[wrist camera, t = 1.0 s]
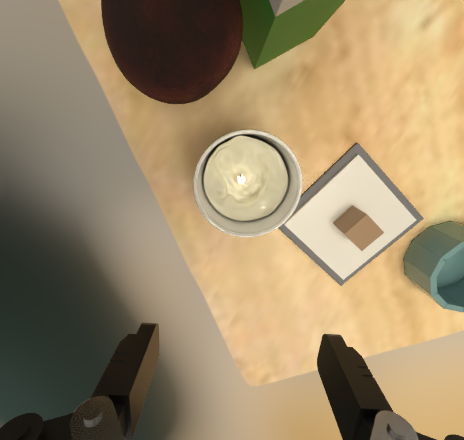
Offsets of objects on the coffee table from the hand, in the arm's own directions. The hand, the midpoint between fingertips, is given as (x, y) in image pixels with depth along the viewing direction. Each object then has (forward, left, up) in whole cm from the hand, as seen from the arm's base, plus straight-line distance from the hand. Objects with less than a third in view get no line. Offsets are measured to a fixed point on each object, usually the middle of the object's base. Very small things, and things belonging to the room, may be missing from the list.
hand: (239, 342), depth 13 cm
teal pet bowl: (-15, +29, -25) cm, 41 cm away
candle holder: (-4, -2, -25) cm, 26 cm away
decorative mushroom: (-9, -15, -25) cm, 31 cm away
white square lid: (-9, +14, -25) cm, 30 cm away
